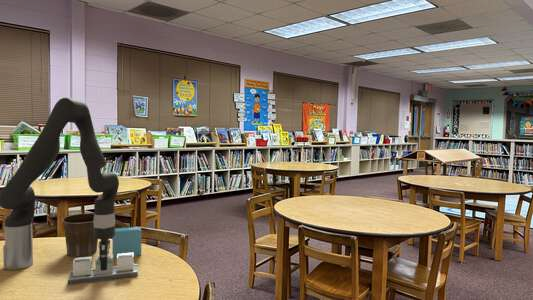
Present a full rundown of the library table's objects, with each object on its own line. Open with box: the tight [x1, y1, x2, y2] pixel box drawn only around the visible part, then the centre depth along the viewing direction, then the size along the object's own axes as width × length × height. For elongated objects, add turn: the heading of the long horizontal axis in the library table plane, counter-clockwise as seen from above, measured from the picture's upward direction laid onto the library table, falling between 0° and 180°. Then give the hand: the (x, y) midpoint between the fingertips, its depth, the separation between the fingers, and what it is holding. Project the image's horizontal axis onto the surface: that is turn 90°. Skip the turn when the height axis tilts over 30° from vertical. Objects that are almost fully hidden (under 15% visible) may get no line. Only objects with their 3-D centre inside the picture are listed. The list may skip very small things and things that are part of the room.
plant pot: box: [61, 213, 99, 258], centre depth 160 cm, size 16×16×16 cm
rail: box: [67, 252, 139, 286], centre depth 136 cm, size 24×8×8 cm, turn 111°
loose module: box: [94, 253, 114, 276], centre depth 136 cm, size 6×5×6 cm
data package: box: [111, 226, 142, 259], centre depth 158 cm, size 12×4×12 cm, turn 112°
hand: (104, 265), depth 136 cm, fingers open, 8 cm apart
